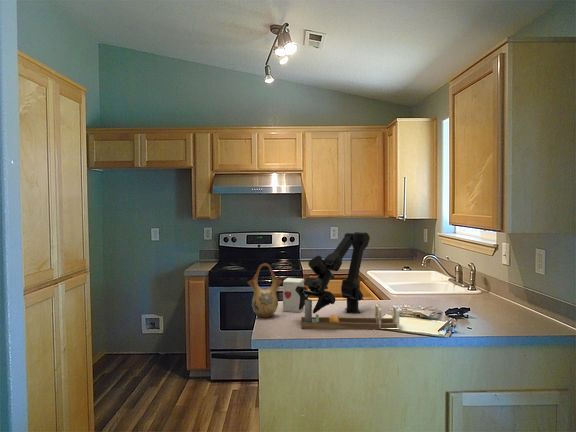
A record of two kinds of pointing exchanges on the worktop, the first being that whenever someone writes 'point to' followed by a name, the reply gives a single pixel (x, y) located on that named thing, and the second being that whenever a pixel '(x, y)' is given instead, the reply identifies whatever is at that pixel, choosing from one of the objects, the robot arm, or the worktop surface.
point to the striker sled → (309, 312)
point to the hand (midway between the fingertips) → (306, 311)
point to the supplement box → (291, 294)
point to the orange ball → (333, 319)
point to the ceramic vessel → (264, 295)
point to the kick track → (356, 322)
